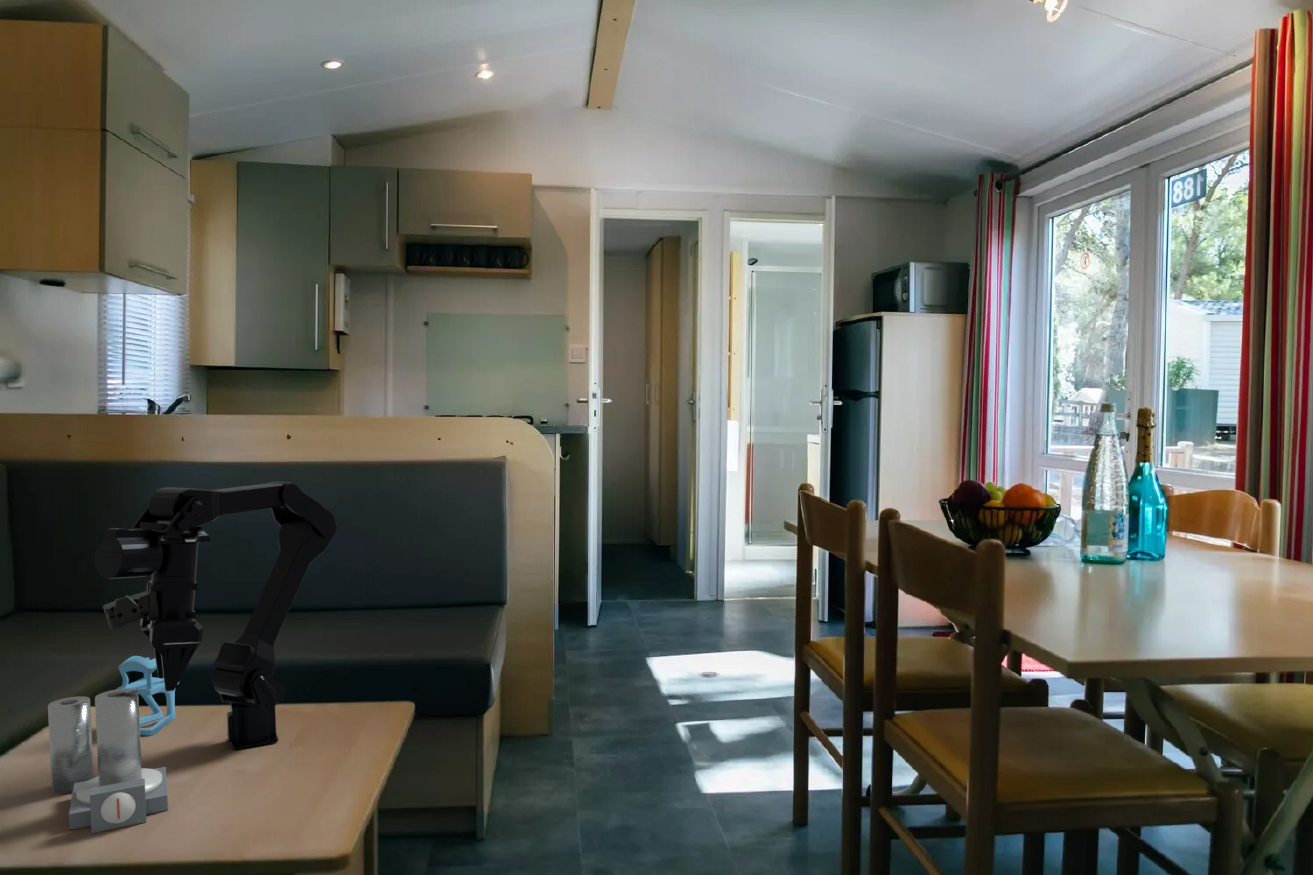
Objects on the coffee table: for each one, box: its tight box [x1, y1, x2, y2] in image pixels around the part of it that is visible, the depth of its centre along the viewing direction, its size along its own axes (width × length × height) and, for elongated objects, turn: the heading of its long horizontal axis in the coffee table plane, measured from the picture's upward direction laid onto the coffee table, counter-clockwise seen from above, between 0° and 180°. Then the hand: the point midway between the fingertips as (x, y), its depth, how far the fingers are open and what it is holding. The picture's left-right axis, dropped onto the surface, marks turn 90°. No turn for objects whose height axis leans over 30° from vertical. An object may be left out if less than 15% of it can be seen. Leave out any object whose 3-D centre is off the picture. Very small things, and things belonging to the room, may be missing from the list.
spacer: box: [47, 695, 95, 795], centre depth 132 cm, size 5×5×12 cm
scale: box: [68, 766, 169, 834], centre depth 125 cm, size 11×14×5 cm
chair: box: [116, 655, 180, 737], centre depth 156 cm, size 8×8×12 cm
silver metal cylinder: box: [94, 688, 143, 787], centre depth 126 cm, size 5×5×12 cm
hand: (166, 684), depth 135 cm, fingers open, 9 cm apart
